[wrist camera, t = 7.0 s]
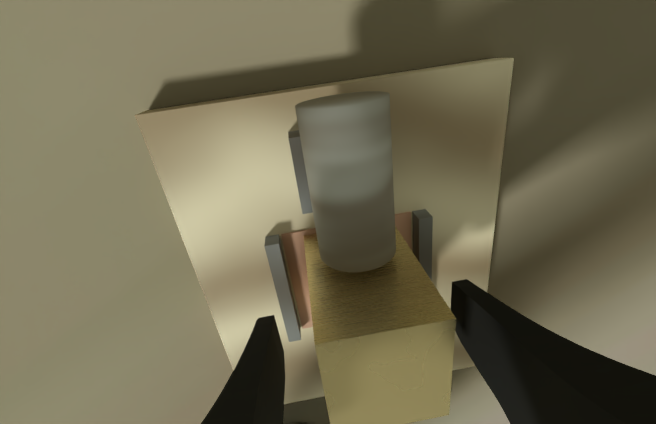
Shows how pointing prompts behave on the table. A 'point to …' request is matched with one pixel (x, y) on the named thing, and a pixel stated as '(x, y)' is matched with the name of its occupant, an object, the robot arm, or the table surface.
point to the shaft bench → (263, 198)
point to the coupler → (381, 339)
